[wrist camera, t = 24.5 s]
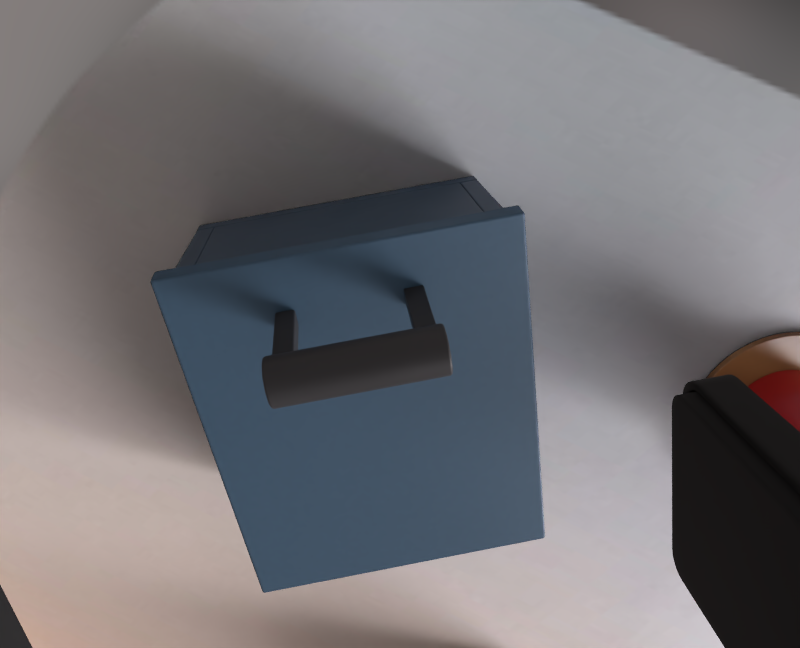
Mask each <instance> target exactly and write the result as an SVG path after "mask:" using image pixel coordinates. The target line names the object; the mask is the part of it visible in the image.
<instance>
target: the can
mask: <svg viewBox="0 0 800 648" xmlns="http://www.w3.org/2000/svg"><path fill="white" fill-rule="evenodd" d="M748 387H749V388H750V389H751V390H752V391H753V392H754V393H756V394H757V395H758V396H759V397H760V398H761V399H763V400H764V401H765V402H766V403H767V404H768V405H769V406H771V407H772V408H773V409H774V410H775V411H776V412H777V413H779V414H780V415H781V416H782V417H783V418H784V419H785V420H787V421H788V422H789V423H790V424H791V425H792V426H793V427H795V428H796V429H797V430H798V431H799V432H800V370H783V371H778V372H774V373H771V374H768V375H766V376H763V377H762V378H760V379H758V380H756V381H755V382H753V383H752V384H750V385H749V386H748Z"/></svg>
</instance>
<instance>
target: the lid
mask: <svg viewBox="0 0 800 648" xmlns="http://www.w3.org/2000/svg"><path fill="white" fill-rule="evenodd" d="M151 285H152V288H153V291H154V293H155V296H156V299H157V302H158V304H159V307H160V310H161V313H162V315H163V318H164V321H165V324H166V326H167V329H168V332H169V335H170V337H171V340H172V343H173V346H174V348H175V351H176V354H177V357H178V359H179V362H180V365H181V368H182V370H183V373H184V376H185V379H186V381H187V384H188V387H189V390H190V392H191V395H192V398H193V401H194V404H195V406H196V409H197V412H198V415H199V417H200V420H201V423H202V426H203V428H204V431H205V434H206V437H207V439H208V442H209V445H210V448H211V450H212V453H213V456H214V459H215V461H216V464H217V467H218V470H219V472H220V475H221V478H222V481H223V483H224V486H225V489H226V492H227V494H228V497H229V500H230V503H231V506H232V508H233V511H234V514H235V517H236V519H237V522H238V525H239V528H240V530H241V533H242V536H243V539H244V541H245V544H246V547H247V550H248V552H249V555H250V558H251V561H252V563H253V566H254V569H255V572H256V574H257V577H258V580H259V583H260V585H261V588H262V591H263V592H264V593H265V592H271V591H276V590H281V589H286V588H291V587H296V586H301V585H306V584H311V583H316V582H322V581H327V580H332V579H337V578H342V577H347V576H352V575H357V574H362V573H367V572H373V571H378V570H383V569H388V568H393V567H398V566H403V565H408V564H413V563H418V562H424V561H429V560H434V559H439V558H444V557H449V556H454V555H459V554H464V553H469V552H475V551H480V550H485V549H490V548H495V547H500V546H505V545H510V544H515V543H521V542H526V541H531V540H536V539H541V538H544V537H545V530H544V514H543V498H542V482H541V467H540V451H539V435H538V419H537V403H536V388H535V372H534V356H533V340H532V324H531V309H530V293H529V277H528V261H527V245H526V230H525V214H524V212H523V211H522V210H521V208H520V207H519V206H512V207H507V208H501V209H496V210H490V211H485V212H479V213H474V214H468V215H463V216H457V217H452V218H446V219H441V220H436V221H430V222H425V223H419V224H414V225H408V226H403V227H397V228H392V229H386V230H381V231H375V232H370V233H365V234H359V235H354V236H348V237H343V238H337V239H332V240H326V241H321V242H315V243H310V244H304V245H299V246H294V247H288V248H283V249H277V250H272V251H266V252H261V253H255V254H250V255H244V256H239V257H233V258H228V259H223V260H217V261H212V262H206V263H201V264H195V265H190V266H184V267H179V268H173V269H168V270H162V271H157V272H155V273H154V275H153V277H152V279H151Z"/></svg>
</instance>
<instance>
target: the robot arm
mask: <svg viewBox="0 0 800 648" xmlns="http://www.w3.org/2000/svg"><path fill="white" fill-rule="evenodd" d="M672 550H673V558H674V562H675V565H676V568H677V571H678V573H679V576H680V577H681V579H682V581H683V582H684V584H685V586H686V587H687V589H688V590H689V592H690V594H691V595H692V597H693V598H694V600H695V601H696V603H697V605H698V606H699V608H700V609H701V611H702V612H703V614H704V616H705V617H706V619H707V620H708V622H709V623H710V625H711V627H712V628H713V630H714V631H715V633H716V634H717V636H718V638H719V639H720V641H721V642H722V644H723V645H724V647H725V648H800V432H799V431H798V430H797V429H796V428H795V427H793V426H792V425H791V424H790V423H789V422H788V421H787V420H785V419H784V418H783V417H782V416H781V415H780V414H779V413H777V412H776V411H775V410H774V409H773V408H772V407H771V406H769V405H768V404H767V403H766V402H765V401H764V400H763V399H761V398H760V397H759V396H758V395H757V394H756V393H754V392H753V391H752V390H751V389H750V388H749V387H748V386H746V385H745V384H744V383H743V382H742V381H741V380H740V379H738V378H737V377H735V376H734V375H722V376H717V377H712V378H707V379H701V380H696V381H691V382H688V383H687V384H686V385H685V388H684V390H683V394H681V395H676V396H675V397H674V399H673V402H672ZM0 648H32V646H31V644H30V642H29V640H28V638H27V636H26V634H25V632H24V630H23V628H22V626H21V625H20V623H19V621H18V619H17V617H16V615H15V613H14V611H13V609H12V607H11V605H10V603H9V601H8V599H7V597H6V595H5V593H4V591H3V589H2V587H1V585H0Z"/></svg>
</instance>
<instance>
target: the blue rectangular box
mask: <svg viewBox="0 0 800 648" xmlns="http://www.w3.org/2000/svg"><path fill="white" fill-rule="evenodd" d="M501 208H503V207H502V206H501V205H500V204H499V203H498V202H497V201H496V200H495V199H494V198H493V197H492V196H491V195H490V193H489V192H488V191H487V190H486V189H485V188H484V187H483V186H482V185H481V184H480V183H479V182H478V181H477V179H476V178H475V177H474V176H470V177H464V178H459V179H453V180H448V181H442V182H437V183H431V184H426V185H420V186H415V187H409V188H404V189H398V190H393V191H387V192H382V193H376V194H371V195H365V196H360V197H354V198H349V199H343V200H338V201H332V202H327V203H321V204H316V205H310V206H305V207H299V208H294V209H288V210H283V211H277V212H272V213H266V214H261V215H255V216H250V217H244V218H239V219H233V220H227V221H222V222H216V223H211V224H205V225H200V226H199V228H198V230H197V232H196V234H195V235H194V237H193V239H192V241H191V242H190V244H189V246H188V247H187V249H186V251H185V252H184V254H183V256H182V258H181V259H180V261H179V263H178V264H177V266H176V268H179V267H184V266H190V265H195V264H201V263H206V262H212V261H217V260H223V259H228V258H233V257H239V256H244V255H250V254H255V253H261V252H266V251H272V250H277V249H283V248H288V247H294V246H299V245H304V244H310V243H315V242H321V241H326V240H332V239H337V238H343V237H348V236H354V235H359V234H365V233H370V232H375V231H381V230H386V229H392V228H397V227H403V226H408V225H414V224H419V223H425V222H430V221H436V220H441V219H446V218H452V217H457V216H463V215H468V214H474V213H479V212H485V211H490V210H496V209H501Z"/></svg>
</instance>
